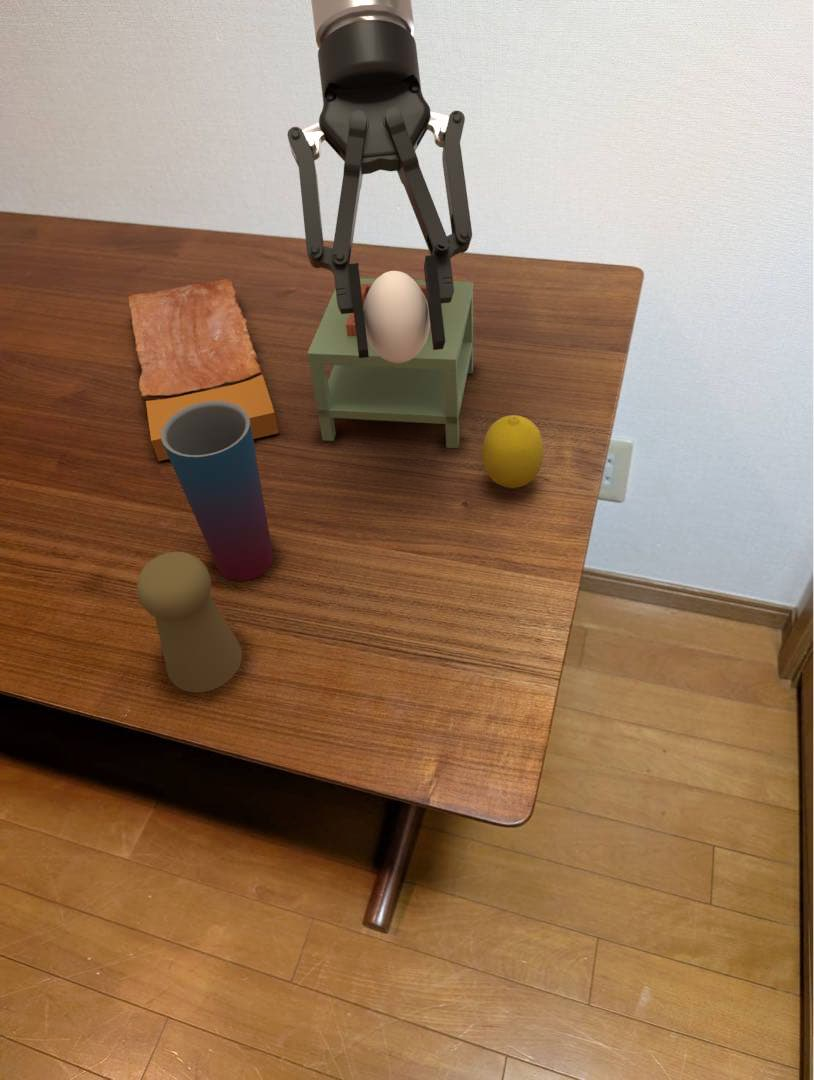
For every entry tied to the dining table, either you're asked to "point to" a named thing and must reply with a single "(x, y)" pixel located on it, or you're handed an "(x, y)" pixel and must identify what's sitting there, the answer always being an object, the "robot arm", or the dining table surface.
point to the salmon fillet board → (197, 355)
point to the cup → (222, 484)
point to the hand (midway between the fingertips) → (401, 349)
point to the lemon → (512, 451)
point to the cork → (188, 622)
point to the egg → (396, 317)
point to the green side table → (393, 370)
